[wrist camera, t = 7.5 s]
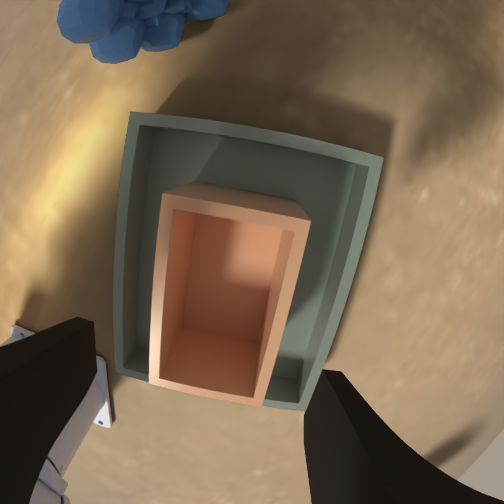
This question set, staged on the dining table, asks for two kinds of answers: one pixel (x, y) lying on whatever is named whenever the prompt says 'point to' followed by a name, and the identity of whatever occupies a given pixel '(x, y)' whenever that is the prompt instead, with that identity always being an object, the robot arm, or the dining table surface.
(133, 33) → the grapes
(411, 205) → the dining table surface
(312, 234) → the base crate
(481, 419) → the dining table surface
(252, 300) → the small crate
